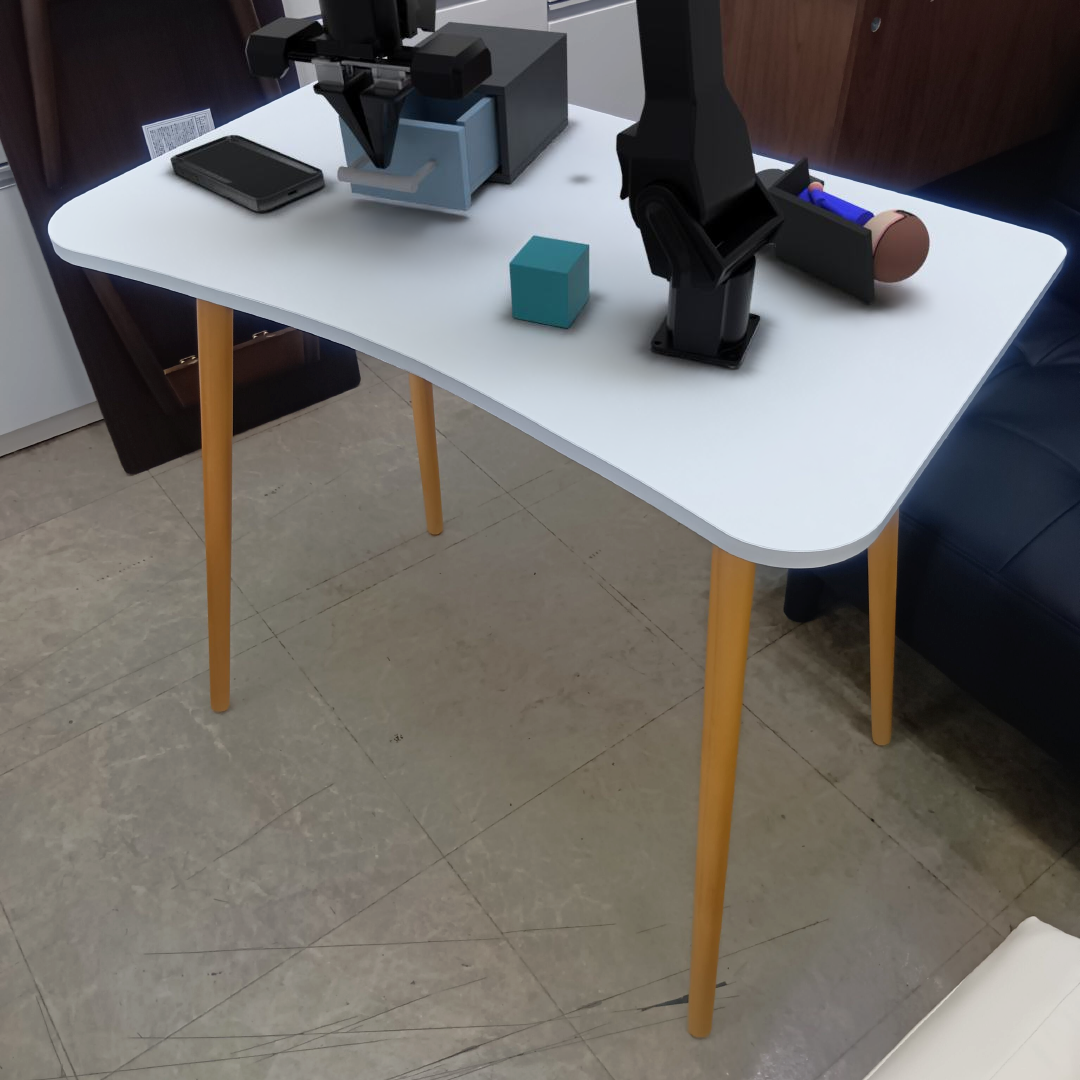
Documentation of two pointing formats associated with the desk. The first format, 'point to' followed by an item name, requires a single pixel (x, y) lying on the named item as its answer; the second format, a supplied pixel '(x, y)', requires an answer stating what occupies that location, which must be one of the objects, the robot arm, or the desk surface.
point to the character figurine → (842, 235)
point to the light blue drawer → (431, 152)
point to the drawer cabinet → (522, 89)
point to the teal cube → (550, 281)
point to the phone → (248, 172)
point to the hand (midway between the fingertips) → (383, 166)
